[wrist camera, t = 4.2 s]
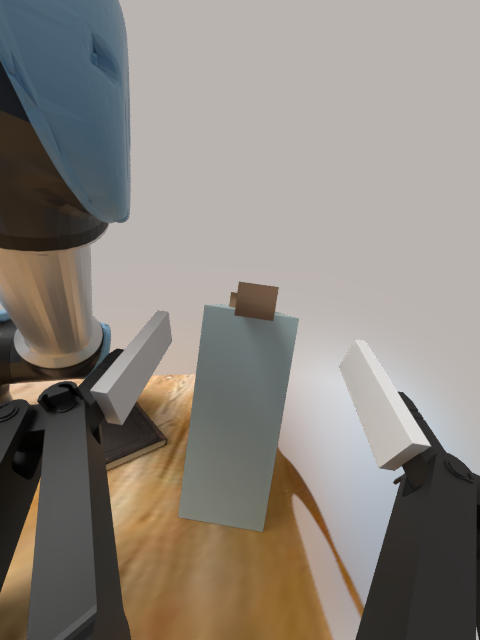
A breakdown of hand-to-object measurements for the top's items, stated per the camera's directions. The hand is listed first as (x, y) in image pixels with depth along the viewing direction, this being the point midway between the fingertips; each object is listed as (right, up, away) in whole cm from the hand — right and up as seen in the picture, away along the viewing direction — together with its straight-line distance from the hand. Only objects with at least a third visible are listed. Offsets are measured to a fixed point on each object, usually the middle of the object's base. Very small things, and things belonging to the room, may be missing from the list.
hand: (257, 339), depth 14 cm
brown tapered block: (0, +3, +13) cm, 13 cm away
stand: (-4, -26, +21) cm, 34 cm away
